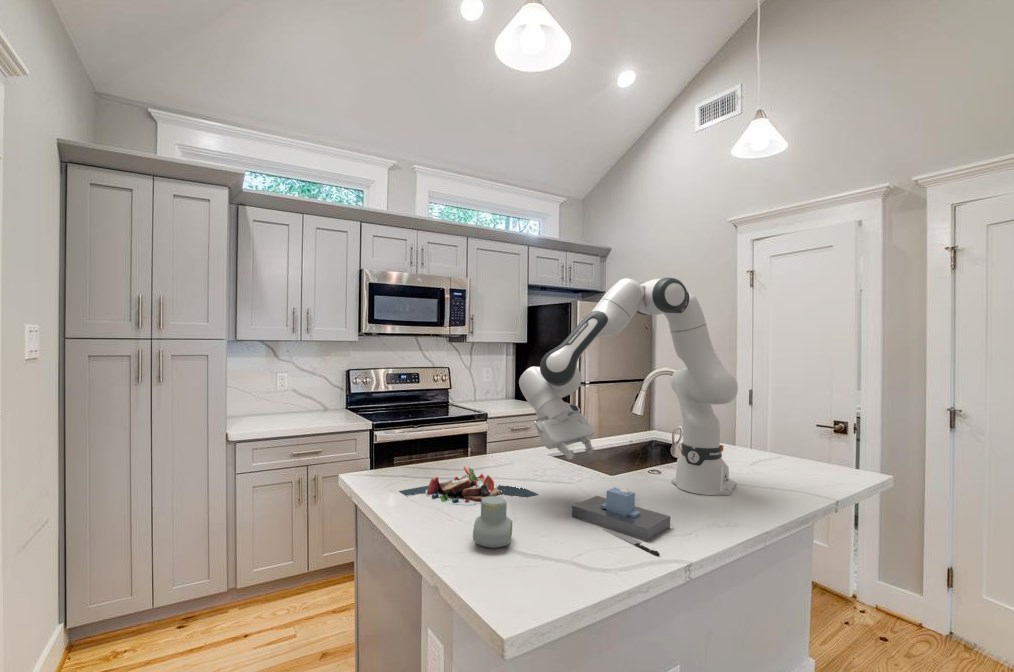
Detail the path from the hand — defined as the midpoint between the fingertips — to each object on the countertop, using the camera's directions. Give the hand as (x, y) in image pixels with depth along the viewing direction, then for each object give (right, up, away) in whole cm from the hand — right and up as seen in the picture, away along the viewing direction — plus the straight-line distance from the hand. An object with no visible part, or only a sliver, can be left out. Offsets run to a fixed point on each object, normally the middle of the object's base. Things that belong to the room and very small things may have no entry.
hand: (582, 455), depth 138 cm
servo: (+9, -16, -8) cm, 20 cm away
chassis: (+9, -16, -8) cm, 20 cm away
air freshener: (-24, -15, -23) cm, 36 cm away
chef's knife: (+9, -16, -19) cm, 27 cm away
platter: (-33, -16, +13) cm, 38 cm away
